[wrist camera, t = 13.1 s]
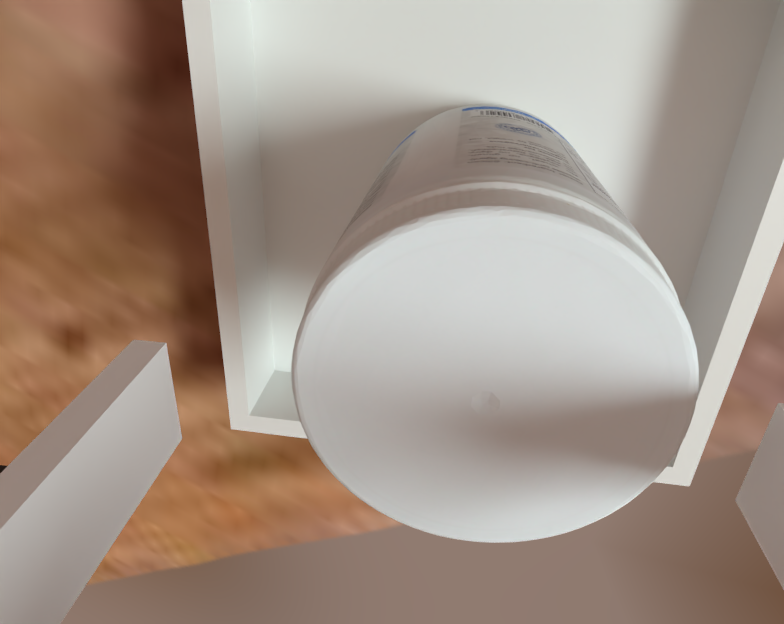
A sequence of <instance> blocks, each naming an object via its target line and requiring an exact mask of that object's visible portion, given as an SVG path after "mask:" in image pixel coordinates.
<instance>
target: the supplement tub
mask: <svg viewBox="0 0 784 624" xmlns="http://www.w3.org/2000/svg"><path fill="white" fill-rule="evenodd" d="M291 379H292V390H293V395H294V400H295V405H296V409H297V413H298V416H299V419H300V422H301V425H302V427H303V430H304V432H305V434H306V436H307V438H308V440H309V442H310V444H311V446H312V448H313V449H314V450H315V452H316V453H317V455H318V456H319V458H320V459H321V461H322V462H323V463H324V465H325V466H326V467H327V468H328V470H329V471H330V472H331V473H332V474H333V475H334V476H335V477H336V478H337V479H338V480H339V481H340V482H341V483H342V484H343V485H344V486H345V487H346V488H347V489H348V490H349V491H350V492H352V493H353V494H354V495H356V496H357V497H358V498H359V499H361V500H362V501H364V502H365V503H367V504H368V505H370V506H371V507H373V508H374V509H376V510H377V511H379V512H381V513H383V514H385V515H386V516H388V517H390V518H392V519H394V520H397V521H399V522H401V523H403V524H406V525H408V526H411V527H413V528H416V529H419V530H422V531H425V532H428V533H431V534H435V535H438V536H443V537H448V538H452V539H459V540H465V541H475V542H493V543H494V542H518V541H528V540H535V539H541V538H546V537H551V536H555V535H559V534H563V533H566V532H569V531H572V530H576V529H578V528H581V527H583V526H586V525H588V524H591V523H593V522H595V521H597V520H599V519H602V518H603V517H606V516H608V515H610V514H611V513H613V512H614V511H616V510H618V509H619V508H621V507H622V506H624V505H626V504H627V503H629V502H630V501H631V500H632V499H633V498H635V497H636V496H638V495H639V494H640V493H641V492H642V491H643V490H644V489H645V488H647V487H648V486H649V485H650V484H651V483H652V482H653V481H654V480H655V479H656V478H657V477H658V476H659V475H660V474H661V473H662V471H663V470H664V469H665V468H666V467H667V465H668V464H669V462H670V461H671V460H672V458H673V457H674V455H675V454H676V452H677V451H678V449H679V448H680V446H681V444H682V442H683V440H684V438H685V436H686V433H687V431H688V429H689V426H690V423H691V420H692V417H693V414H694V410H695V405H696V400H697V393H698V387H699V366H698V357H697V348H696V345H695V341H694V337H693V334H692V330H691V327H690V324H689V322H688V320H687V318H686V315H685V313H684V311H683V309H682V307H681V305H680V302H679V299H678V296H677V293H676V291H675V288H674V286H673V284H672V282H671V280H670V278H669V277H668V275H667V273H666V271H665V270H664V268H663V266H662V264H661V263H660V261H659V260H658V259H657V258H656V256H655V255H654V254H653V252H652V251H651V249H650V248H649V247H648V245H647V244H646V243H645V241H644V240H643V238H642V237H641V236H640V234H639V233H638V231H637V230H636V229H635V227H634V226H633V225H632V224H631V222H630V221H629V220H628V218H627V217H626V216H625V214H624V213H623V212H622V210H621V209H620V208H619V207H618V205H617V204H616V203H615V201H614V200H613V199H612V197H611V196H610V195H609V193H608V192H607V191H606V189H605V188H604V187H603V185H602V184H601V183H600V182H599V180H598V179H597V178H596V177H595V175H594V174H593V173H592V171H591V170H590V169H589V167H588V166H587V165H586V163H585V162H584V161H583V159H582V158H581V157H580V156H579V154H578V153H577V152H576V150H575V149H574V148H573V147H572V145H571V144H570V143H569V142H568V141H567V140H566V139H565V138H564V137H563V136H562V135H561V134H560V133H559V132H558V131H557V130H556V129H554V128H553V127H552V126H551V125H550V124H548V123H547V122H545V121H544V120H542V119H540V118H539V117H537V116H535V115H533V114H531V113H528V112H525V111H522V110H519V109H516V108H512V107H508V106H501V105H490V104H481V105H470V106H464V107H459V108H455V109H452V110H448V111H446V112H443V113H441V114H439V115H437V116H435V117H433V118H431V119H429V120H427V121H426V122H424V123H423V124H421V125H420V126H418V127H417V128H416V129H415V130H413V131H412V132H411V133H410V134H409V135H408V136H407V137H406V138H405V139H404V140H403V141H402V142H401V143H400V144H399V145H398V146H397V147H396V149H395V150H394V151H393V153H392V154H391V155H390V157H389V158H388V160H387V161H386V163H385V164H384V166H383V167H382V169H381V171H380V172H379V174H378V176H377V178H376V179H375V181H374V183H373V184H372V186H371V188H370V189H369V191H368V193H367V194H366V196H365V198H364V199H363V201H362V203H361V204H360V206H359V208H358V209H357V211H356V213H355V214H354V216H353V218H352V219H351V221H350V223H349V224H348V226H347V228H346V229H345V231H344V232H343V234H342V236H341V237H340V239H339V240H338V242H337V244H336V246H335V247H334V249H333V251H332V253H331V254H330V256H329V258H328V260H327V261H326V263H325V265H324V267H323V268H322V270H321V272H320V274H319V275H318V277H317V279H316V281H315V283H314V286H313V288H312V290H311V292H310V295H309V298H308V301H307V303H306V307H305V311H304V315H303V317H302V320H301V323H300V325H299V328H298V331H297V334H296V339H295V344H294V349H293V356H292V365H291Z"/></svg>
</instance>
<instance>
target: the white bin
mask: <svg viewBox="0 0 784 624" xmlns="http://www.w3.org/2000/svg"><path fill="white" fill-rule="evenodd" d="M182 5H183V13H184V22H185V31H186V40H187V48H188V57H189V66H190V74H191V83H192V92H193V101H194V109H195V118H196V127H197V136H198V144H199V153H200V162H201V171H202V179H203V188H204V197H205V205H206V214H207V223H208V232H209V240H210V249H211V258H212V267H213V275H214V284H215V293H216V301H217V310H218V319H219V328H220V336H221V345H222V354H223V363H224V371H225V380H226V389H227V397H228V406H229V415H230V424H231V429H235V430H243V431H251V432H259V433H267V434H275V435H283V436H291V437H299V438H307V436H306V434H305V432H304V430H303V427H302V425H301V422H300V419H299V416H298V413H297V409H296V405H295V400H294V395H293V390H292V379H291V365H292V356H293V349H294V344H295V339H296V334H297V331H298V328H299V325H300V323H301V320H302V317H303V315H304V311H305V307H306V303H307V301H308V298H309V295H310V292H311V290H312V288H313V286H314V283H315V281H316V279H317V277H318V275H319V274H320V272H321V270H322V268H323V267H324V265H325V263H326V261H327V260H328V258H329V256H330V254H331V253H332V251H333V249H334V247H335V246H336V244H337V242H338V240H339V239H340V237H341V236H342V234H343V232H344V231H345V229H346V228H347V226H348V224H349V223H350V221H351V219H352V218H353V216H354V214H355V213H356V211H357V209H358V208H359V206H360V204H361V203H362V201H363V199H364V198H365V196H366V194H367V193H368V191H369V189H370V188H371V186H372V184H373V183H374V181H375V179H376V178H377V176H378V174H379V172H380V171H381V169H382V167H383V166H384V164H385V163H386V161H387V160H388V158H389V157H390V155H391V154H392V153H393V151H394V150H395V149H396V147H397V146H398V145H399V144H400V143H401V142H402V141H403V140H404V139H405V138H406V137H407V136H408V135H409V134H410V133H411V132H412V131H413V130H415V129H416V128H417V127H418V126H420V125H421V124H423V123H424V122H426V121H427V120H429V119H431V118H433V117H435V116H437V115H439V114H441V113H443V112H446V111H448V110H452V109H455V108H459V107H464V106H470V105H481V104H490V105H501V106H508V107H512V108H516V109H519V110H522V111H525V112H528V113H531V114H533V115H535V116H537V117H539V118H540V119H542V120H544V121H545V122H547V123H548V124H550V125H551V126H552V127H553V128H554V129H556V130H557V131H558V132H559V133H560V134H561V135H562V136H563V137H564V138H565V139H566V140H567V141H568V142H569V143H570V144H571V145H572V147H573V148H574V149H575V150H576V152H577V153H578V154H579V156H580V157H581V158H582V159H583V161H584V162H585V163H586V165H587V166H588V167H589V169H590V170H591V171H592V173H593V174H594V175H595V177H596V178H597V179H598V180H599V182H600V183H601V184H602V185H603V187H604V188H605V189H606V191H607V192H608V193H609V195H610V196H611V197H612V199H613V200H614V201H615V203H616V204H617V205H618V207H619V208H620V209H621V210H622V212H623V213H624V214H625V216H626V217H627V218H628V220H629V221H630V222H631V224H632V225H633V226H634V227H635V229H636V230H637V231H638V233H639V234H640V236H641V237H642V238H643V240H644V241H645V243H646V244H647V245H648V247H649V248H650V249H651V251H652V252H653V254H654V255H655V256H656V258H657V259H658V260H659V261H660V263H661V264H662V266H663V268H664V270H665V271H666V273H667V275H668V277H669V278H670V280H671V282H672V284H673V286H674V288H675V291H676V293H677V296H678V299H679V302H680V305H681V307H682V309H683V311H684V313H685V315H686V318H687V320H688V322H689V324H690V327H691V330H692V334H693V337H694V341H695V345H696V348H697V357H698V366H699V387H698V393H697V400H696V405H695V410H694V414H693V417H692V420H691V423H690V426H689V429H688V431H687V433H686V436H685V438H684V440H683V442H682V444H681V446H680V448H679V449H678V451H677V452H676V454H675V455H674V457H673V458H672V460H671V461H670V462H669V464H668V465H667V467H666V468H665V469H664V470H663V471H662V473H661V474H660V475H659V476H658V477H657V478H656V479H655V480H654V481H653V482H659V483H666V484H675V485H682V486H690V483H691V481H692V479H693V476H694V473H695V471H696V468H697V466H698V463H699V460H700V458H701V455H702V453H703V450H704V447H705V445H706V442H707V440H708V437H709V434H710V432H711V429H712V427H713V424H714V421H715V419H716V416H717V414H718V411H719V408H720V406H721V403H722V401H723V398H724V395H725V393H726V390H727V388H728V385H729V382H730V380H731V377H732V375H733V372H734V369H735V367H736V364H737V362H738V359H739V356H740V354H741V351H742V349H743V346H744V343H745V341H746V338H747V336H748V333H749V330H750V328H751V325H752V323H753V320H754V317H755V315H756V312H757V310H758V307H759V304H760V302H761V299H762V297H763V294H764V291H765V289H766V286H767V284H768V281H769V278H770V276H771V273H772V271H773V268H774V265H775V263H776V260H777V258H778V255H779V252H780V250H781V247H782V245H783V242H784V0H182ZM307 439H308V438H307Z"/></svg>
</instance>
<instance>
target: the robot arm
mask: <svg viewBox="0 0 784 624" xmlns="http://www.w3.org/2000/svg"><path fill="white" fill-rule="evenodd" d="M181 439H182V435H181V429H180V423H179V417H178V411H177V405H176V399H175V393H174V387H173V381H172V375H171V369H170V363H169V357H168V351H167V345H166V343H162V342H152V341H141V340H133V341H132V342H131V343H130V344H129V345H128V346H127V347H126V348H125V349H124V350H123V351H122V352H121V353H120V354H119V355H118V356H117V357H116V358H115V359H114V360H113V361H112V362H111V363H110V364H109V365H108V366H107V367H106V368H105V369H104V370H103V371H102V372H101V373H100V374H99V375H98V376H97V377H96V378H95V379H94V380H93V381H92V382H91V383H90V384H89V385H88V386H87V387H86V388H85V389H84V390H83V391H82V392H81V393H80V394H79V395H78V396H77V397H76V398H75V399H74V400H73V401H72V402H71V403H70V404H69V405H68V406H67V407H66V408H65V409H64V410H63V411H62V412H61V413H60V414H59V415H58V416H57V417H56V418H55V419H54V420H53V421H52V422H51V423H50V424H49V425H48V426H47V427H46V428H45V429H44V430H43V431H42V432H41V433H40V434H39V435H38V436H37V437H36V438H35V439H34V440H33V441H32V442H31V443H30V444H29V445H28V446H27V447H26V448H25V449H24V450H23V451H22V452H21V453H20V454H19V455H18V456H17V457H16V458H15V459H14V460H13V461H12V462H11V463H10V464H9V465H8V466H3V465H0V624H60V623H61V622H62V620H63V619H64V617H65V616H66V614H67V613H68V611H69V610H70V608H71V607H72V605H73V604H74V602H75V601H76V599H77V598H78V596H79V595H80V593H81V592H82V590H83V589H84V587H85V585H86V584H87V582H88V581H89V579H90V578H91V576H92V575H93V573H94V572H95V570H96V569H97V567H98V566H99V564H100V563H101V561H102V560H103V558H104V557H105V555H106V554H107V552H108V550H109V549H110V547H111V546H112V544H113V543H114V541H115V540H116V538H117V537H118V535H119V534H120V532H121V531H122V529H123V528H124V526H125V525H126V523H127V522H128V520H129V519H130V517H131V515H132V514H133V512H134V511H135V509H136V508H137V506H138V505H139V503H140V502H141V500H142V499H143V497H144V496H145V494H146V493H147V491H148V490H149V488H150V487H151V485H152V483H153V482H154V480H155V479H156V477H157V476H158V474H159V473H160V471H161V470H162V468H163V467H164V465H165V464H166V462H167V461H168V459H169V458H170V456H171V455H172V453H173V452H174V450H175V448H176V447H177V445H178V444H179V442H180V441H181ZM736 502H737V504H738V506H739V508H740V510H741V512H742V514H743V516H744V517H745V519H746V521H747V523H748V525H749V527H750V529H751V530H752V532H753V534H754V536H755V538H756V539H757V541H758V543H759V545H760V547H761V549H762V551H763V553H764V554H765V556H766V558H767V560H768V562H769V563H770V565H771V567H772V569H773V571H774V573H775V575H776V577H777V578H778V580H779V582H780V584H781V586H782V588H783V590H784V404H783V403H778V405H777V407H776V409H775V411H774V414H773V416H772V418H771V420H770V423H769V425H768V427H767V430H766V432H765V434H764V436H763V439H762V441H761V443H760V445H759V448H758V450H757V452H756V454H755V457H754V459H753V461H752V464H751V466H750V468H749V470H748V473H747V475H746V477H745V479H744V482H743V484H742V486H741V488H740V491H739V493H738V495H737V497H736Z"/></svg>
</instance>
